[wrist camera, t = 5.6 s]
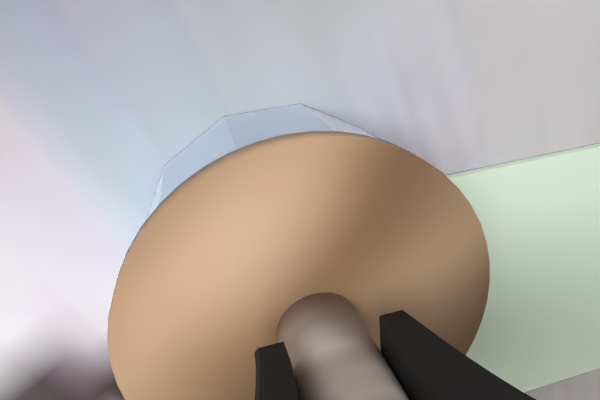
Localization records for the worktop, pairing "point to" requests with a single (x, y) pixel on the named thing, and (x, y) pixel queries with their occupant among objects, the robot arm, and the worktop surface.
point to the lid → (295, 270)
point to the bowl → (243, 139)
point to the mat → (539, 266)
